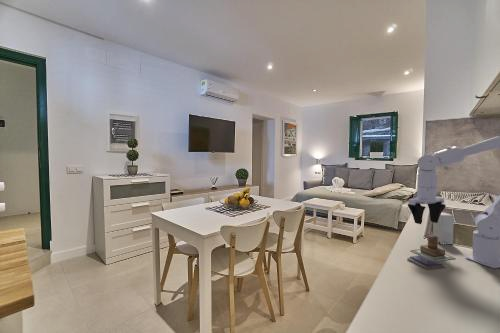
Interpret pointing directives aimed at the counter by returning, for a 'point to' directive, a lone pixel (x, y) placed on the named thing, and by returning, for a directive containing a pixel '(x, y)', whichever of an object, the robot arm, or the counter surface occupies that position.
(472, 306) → the counter surface
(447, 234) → the skincare box
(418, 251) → the pale green flat square
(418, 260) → the ink pad
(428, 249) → the stamp
